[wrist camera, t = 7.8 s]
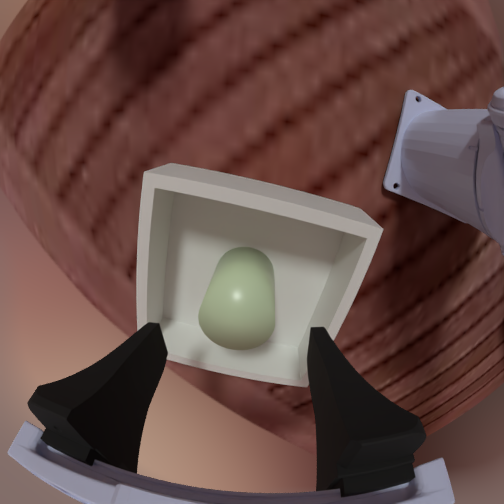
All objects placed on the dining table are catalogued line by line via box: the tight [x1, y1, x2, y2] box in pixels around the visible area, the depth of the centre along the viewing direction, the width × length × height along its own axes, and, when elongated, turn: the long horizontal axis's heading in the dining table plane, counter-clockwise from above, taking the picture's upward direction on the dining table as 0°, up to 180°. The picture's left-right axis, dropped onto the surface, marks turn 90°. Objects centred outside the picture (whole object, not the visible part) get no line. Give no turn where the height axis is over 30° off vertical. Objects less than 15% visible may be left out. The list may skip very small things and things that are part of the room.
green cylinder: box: [198, 247, 275, 350], centre depth 18 cm, size 4×4×6 cm
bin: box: [137, 163, 383, 387], centre depth 19 cm, size 14×14×5 cm
